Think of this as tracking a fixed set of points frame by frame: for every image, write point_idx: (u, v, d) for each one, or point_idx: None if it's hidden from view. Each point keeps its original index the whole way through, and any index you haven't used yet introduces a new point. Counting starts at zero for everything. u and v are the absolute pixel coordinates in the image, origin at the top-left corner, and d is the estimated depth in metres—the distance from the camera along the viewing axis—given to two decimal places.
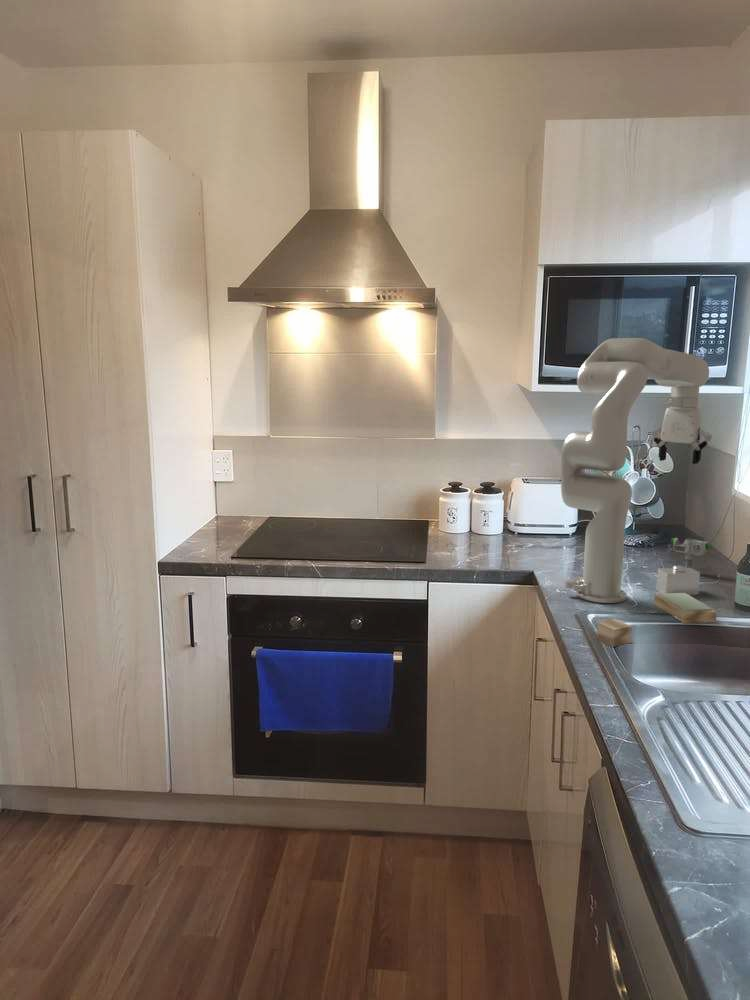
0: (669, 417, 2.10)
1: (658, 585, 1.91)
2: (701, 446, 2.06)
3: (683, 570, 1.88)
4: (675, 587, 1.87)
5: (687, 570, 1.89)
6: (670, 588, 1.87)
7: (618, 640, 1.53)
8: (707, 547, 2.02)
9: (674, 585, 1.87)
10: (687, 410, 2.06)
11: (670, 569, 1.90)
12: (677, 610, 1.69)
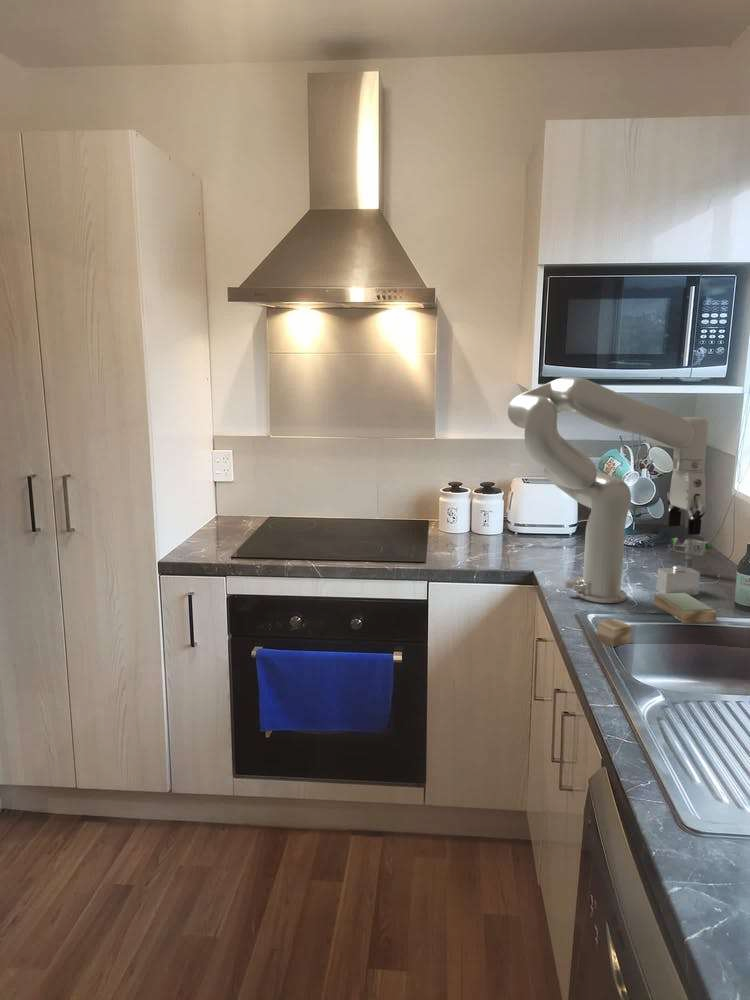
0: None
1: (658, 585, 1.91)
2: None
3: (683, 570, 1.88)
4: (674, 587, 1.87)
5: (687, 570, 1.89)
6: (670, 588, 1.87)
7: (618, 640, 1.53)
8: (707, 547, 2.02)
9: (673, 585, 1.87)
10: None
11: (670, 569, 1.90)
12: (677, 610, 1.69)
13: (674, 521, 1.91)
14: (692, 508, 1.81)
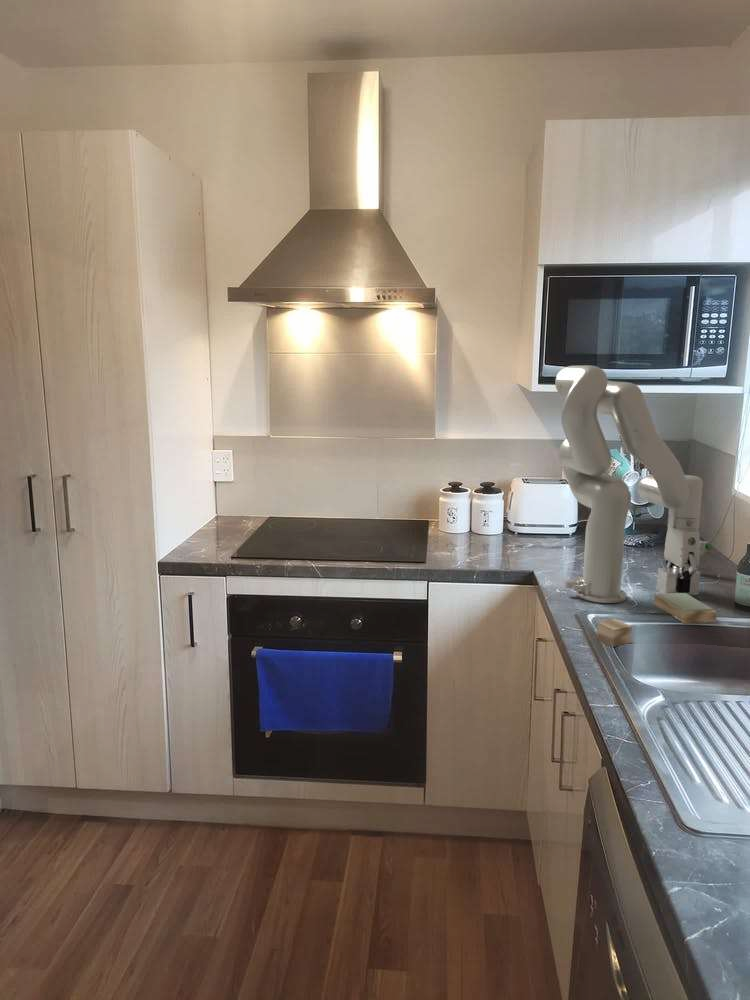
0: None
1: (658, 585, 1.91)
2: None
3: None
4: (675, 587, 1.87)
5: None
6: (670, 588, 1.87)
7: (618, 640, 1.53)
8: (707, 547, 2.02)
9: (674, 584, 1.87)
10: None
11: (670, 569, 1.90)
12: (677, 610, 1.69)
13: None
14: (684, 567, 1.85)
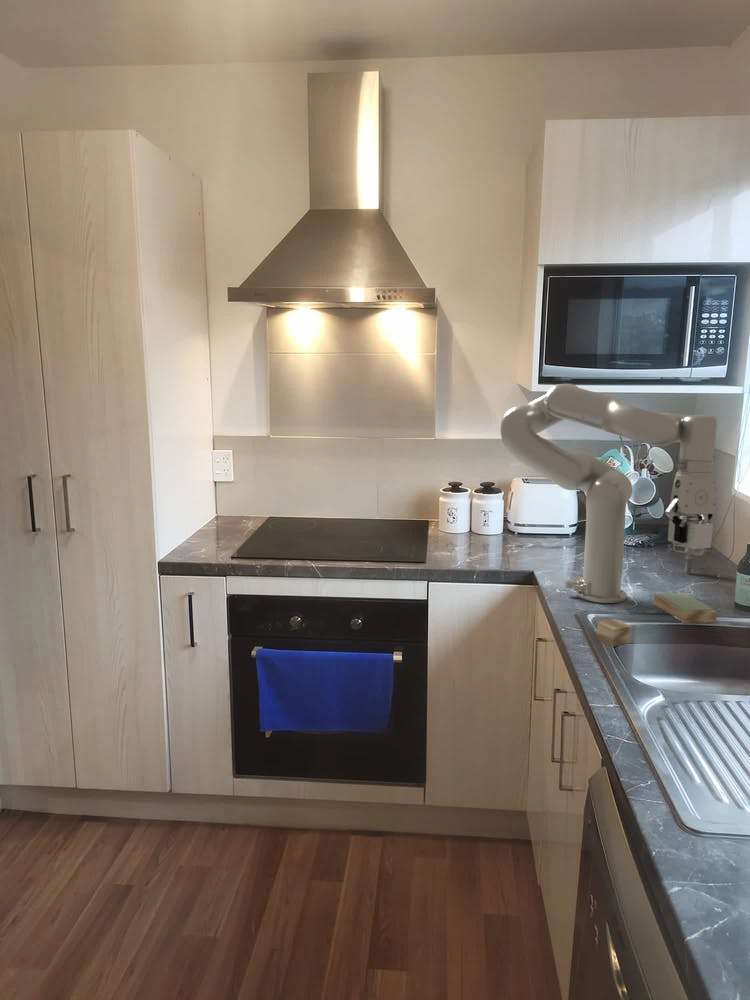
0: (692, 485, 1.68)
1: None
2: (707, 519, 1.73)
3: (687, 518, 1.72)
4: None
5: (697, 521, 1.71)
6: (671, 533, 1.76)
7: (618, 640, 1.53)
8: None
9: None
10: (710, 475, 1.69)
11: None
12: (677, 610, 1.69)
13: None
14: (677, 513, 1.72)
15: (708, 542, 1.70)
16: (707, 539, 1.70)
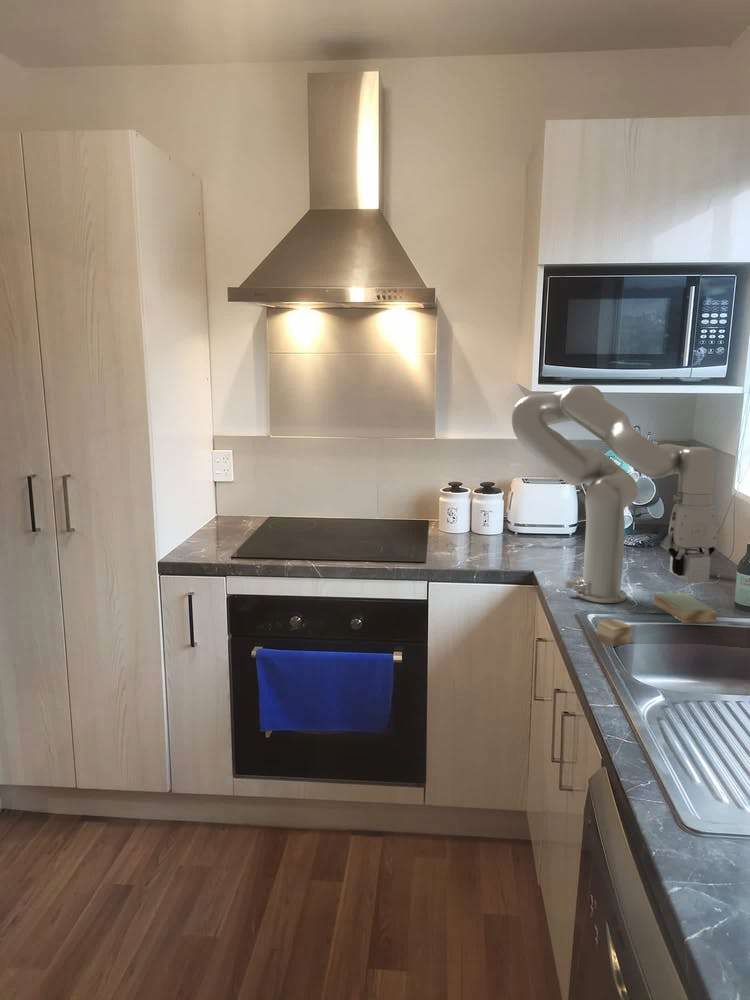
0: (688, 518, 1.66)
1: None
2: (709, 553, 1.71)
3: (685, 551, 1.70)
4: None
5: (695, 555, 1.69)
6: None
7: (618, 640, 1.53)
8: None
9: None
10: (708, 508, 1.67)
11: None
12: (677, 610, 1.69)
13: None
14: (675, 545, 1.71)
15: (705, 576, 1.67)
16: (704, 573, 1.67)
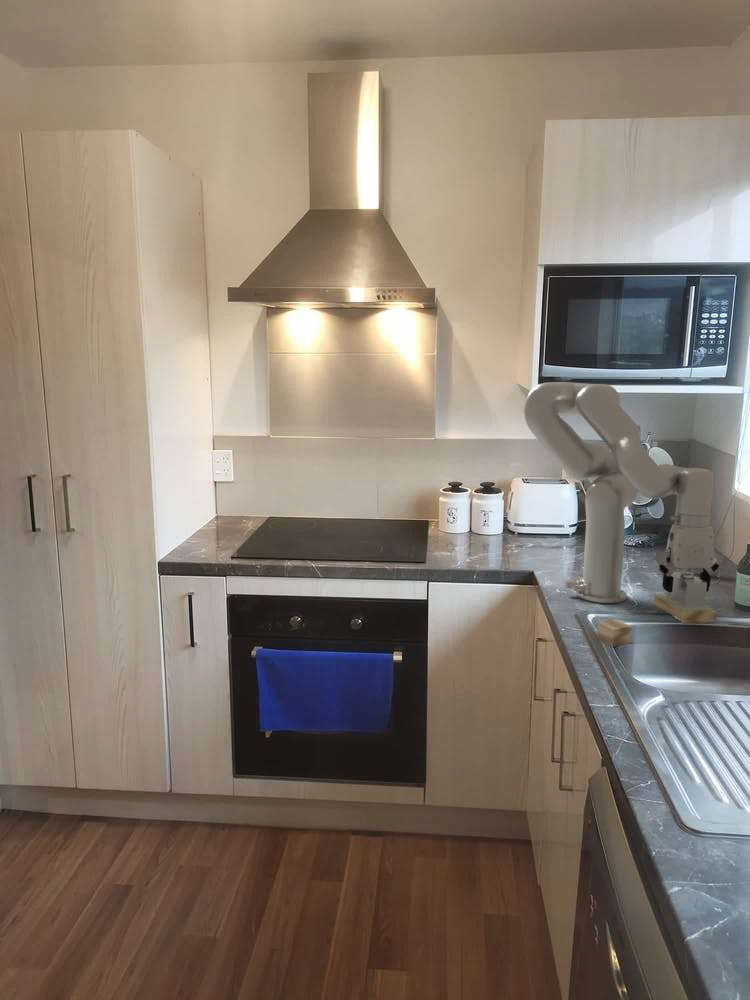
0: (685, 539, 1.67)
1: None
2: (713, 570, 1.72)
3: (681, 576, 1.72)
4: None
5: (691, 580, 1.70)
6: None
7: (618, 640, 1.53)
8: None
9: None
10: (706, 529, 1.68)
11: None
12: (677, 610, 1.69)
13: None
14: (669, 563, 1.72)
15: (701, 601, 1.69)
16: (701, 598, 1.69)
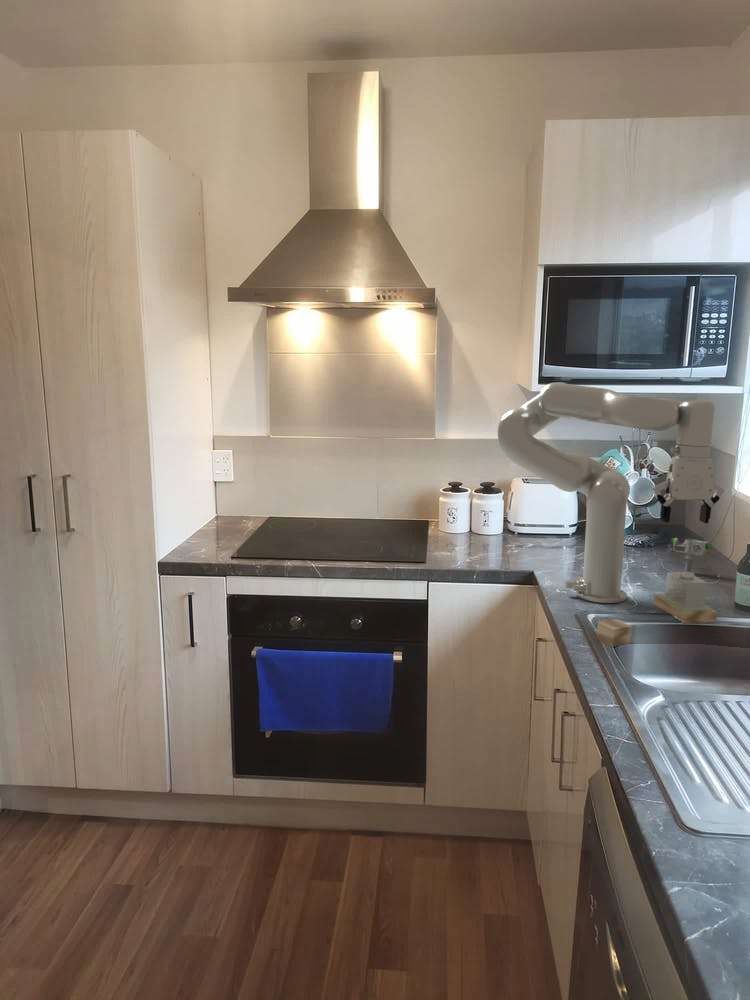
0: (684, 470, 1.70)
1: None
2: (713, 502, 1.73)
3: (681, 576, 1.72)
4: (671, 590, 1.75)
5: (691, 580, 1.70)
6: (668, 589, 1.76)
7: (618, 640, 1.53)
8: (707, 547, 2.02)
9: (670, 587, 1.75)
10: (705, 461, 1.69)
11: None
12: (677, 610, 1.69)
13: (702, 516, 1.75)
14: (667, 494, 1.74)
15: (701, 601, 1.69)
16: (701, 598, 1.69)
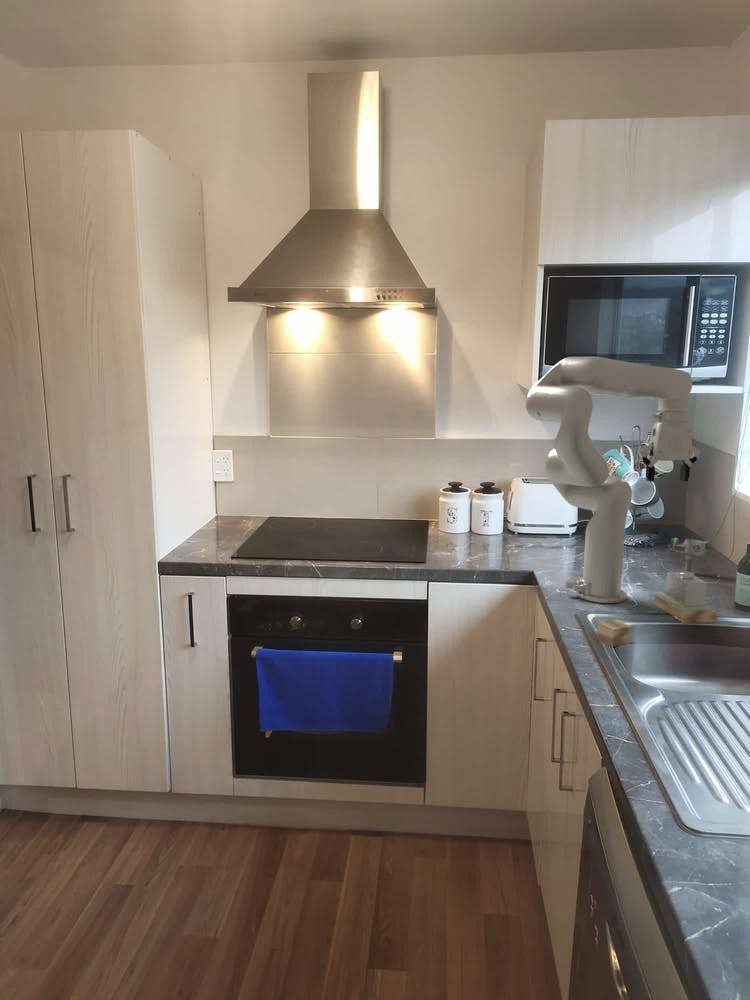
0: (666, 433, 1.89)
1: None
2: (692, 462, 1.94)
3: (681, 576, 1.72)
4: (671, 590, 1.75)
5: (691, 580, 1.70)
6: (668, 589, 1.76)
7: (618, 640, 1.53)
8: (707, 547, 2.02)
9: (670, 587, 1.75)
10: (684, 425, 1.90)
11: None
12: (677, 610, 1.69)
13: (682, 475, 1.95)
14: (651, 456, 1.94)
15: (701, 601, 1.69)
16: (701, 598, 1.69)
